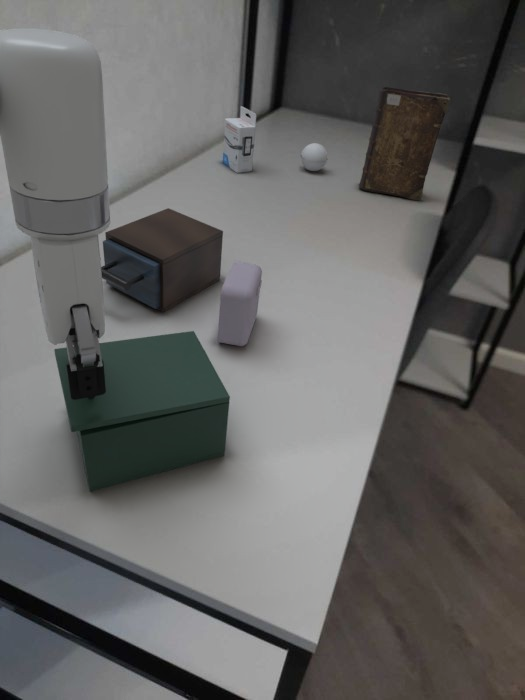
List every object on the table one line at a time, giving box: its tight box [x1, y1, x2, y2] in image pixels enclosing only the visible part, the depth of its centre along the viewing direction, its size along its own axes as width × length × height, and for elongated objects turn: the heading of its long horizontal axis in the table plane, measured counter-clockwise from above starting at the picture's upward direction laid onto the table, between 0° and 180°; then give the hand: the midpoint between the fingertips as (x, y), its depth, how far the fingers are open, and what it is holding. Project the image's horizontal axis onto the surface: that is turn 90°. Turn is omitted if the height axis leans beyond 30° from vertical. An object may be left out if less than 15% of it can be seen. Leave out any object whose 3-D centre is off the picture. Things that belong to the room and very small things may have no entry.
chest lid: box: [53, 330, 231, 433], centre depth 56 cm, size 16×13×5 cm
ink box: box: [222, 105, 257, 174], centre depth 138 cm, size 8×5×15 cm, turn 32°
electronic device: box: [217, 260, 263, 347], centre depth 80 cm, size 10×5×10 cm, turn 170°
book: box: [358, 86, 451, 201], centre depth 132 cm, size 17×7×25 cm, turn 75°
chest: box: [75, 401, 230, 492], centre depth 61 cm, size 16×13×9 cm
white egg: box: [300, 142, 328, 172], centre depth 144 cm, size 10×7×7 cm
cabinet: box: [104, 207, 224, 313], centre depth 89 cm, size 15×13×10 cm
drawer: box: [101, 239, 161, 310], centre depth 86 cm, size 18×11×8 cm, turn 145°
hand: (80, 364), depth 53 cm, fingers open, 9 cm apart
